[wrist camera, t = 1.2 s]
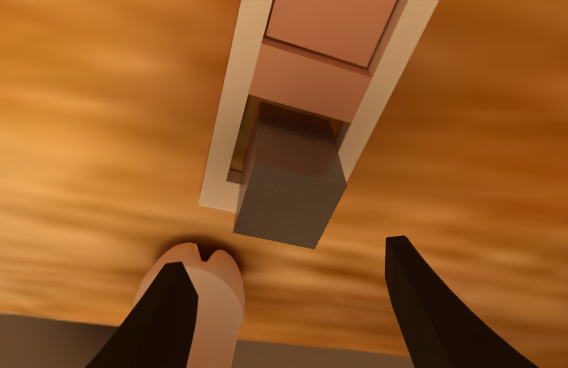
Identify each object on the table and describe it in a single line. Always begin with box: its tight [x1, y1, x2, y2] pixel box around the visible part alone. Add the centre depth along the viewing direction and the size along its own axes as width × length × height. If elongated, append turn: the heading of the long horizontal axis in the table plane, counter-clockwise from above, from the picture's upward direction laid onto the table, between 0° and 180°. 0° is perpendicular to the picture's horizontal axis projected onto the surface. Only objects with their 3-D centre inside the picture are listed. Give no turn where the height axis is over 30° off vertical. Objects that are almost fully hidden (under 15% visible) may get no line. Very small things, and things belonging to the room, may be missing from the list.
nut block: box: [233, 102, 347, 249], centre depth 18 cm, size 4×4×6 cm
